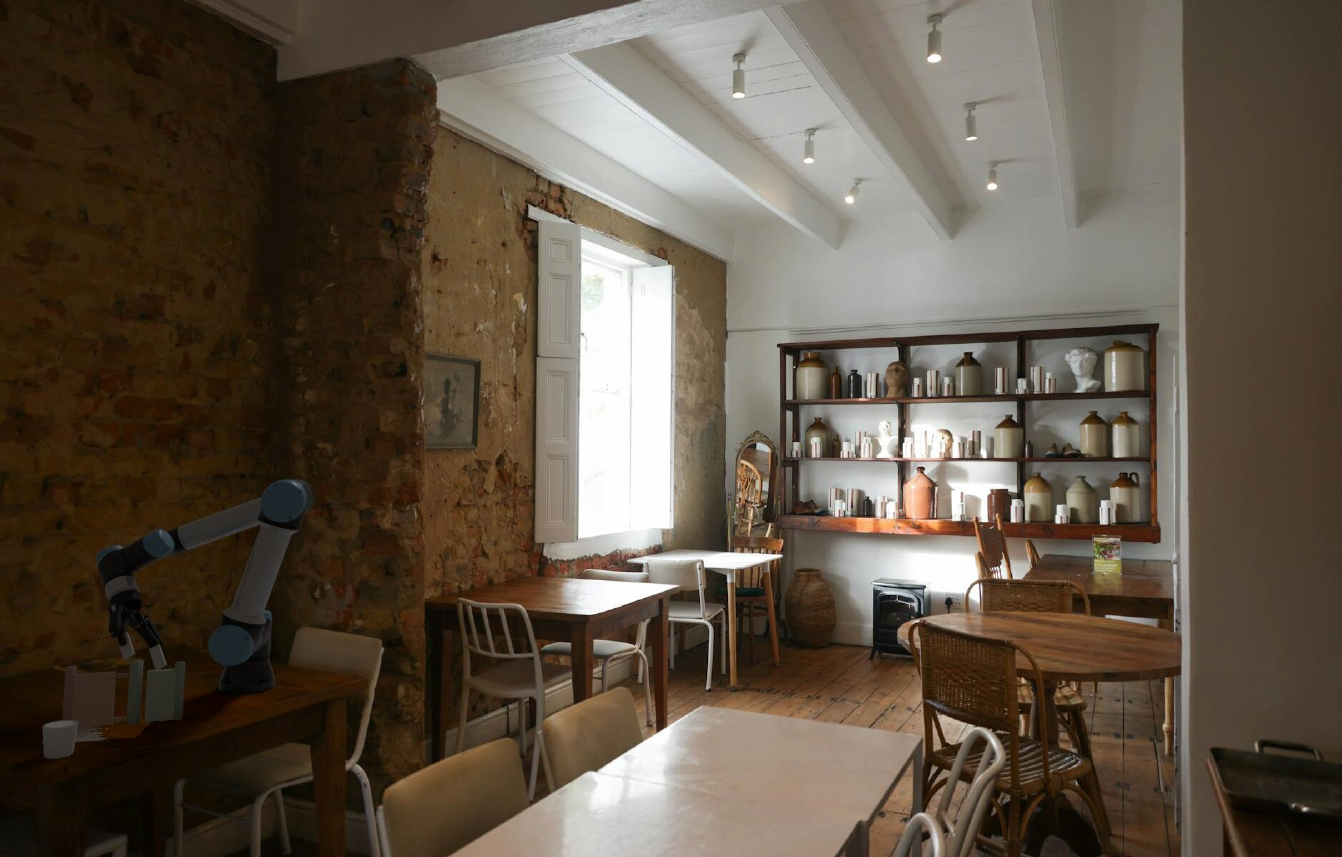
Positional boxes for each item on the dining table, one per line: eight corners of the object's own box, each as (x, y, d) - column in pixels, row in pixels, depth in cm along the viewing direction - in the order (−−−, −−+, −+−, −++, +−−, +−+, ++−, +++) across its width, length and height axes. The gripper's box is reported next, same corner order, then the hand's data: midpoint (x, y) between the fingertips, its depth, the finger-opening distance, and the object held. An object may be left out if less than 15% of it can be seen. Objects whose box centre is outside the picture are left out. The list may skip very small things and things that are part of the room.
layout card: (156, 718, 232) (156, 716, 232) (137, 739, 215) (137, 738, 215) (67, 722, 226) (67, 720, 226) (41, 744, 208) (41, 743, 208)
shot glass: (80, 755, 203) (82, 724, 203) (44, 761, 198) (46, 730, 198) (71, 747, 207) (73, 717, 208) (36, 754, 202) (38, 723, 203)
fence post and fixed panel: (125, 726, 224) (129, 663, 224) (126, 723, 226) (130, 660, 227) (182, 721, 229) (185, 659, 230) (182, 718, 232) (185, 657, 233)
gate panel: (125, 721, 226) (128, 662, 226) (124, 723, 224) (128, 664, 224) (62, 726, 220) (66, 666, 220) (61, 729, 218) (64, 668, 218)
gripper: (139, 615, 252) (160, 679, 243) (79, 591, 230) (100, 660, 221) (164, 601, 254) (186, 663, 245) (107, 575, 231) (128, 643, 223)
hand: (145, 662), depth 233 cm, fingers open, 13 cm apart
